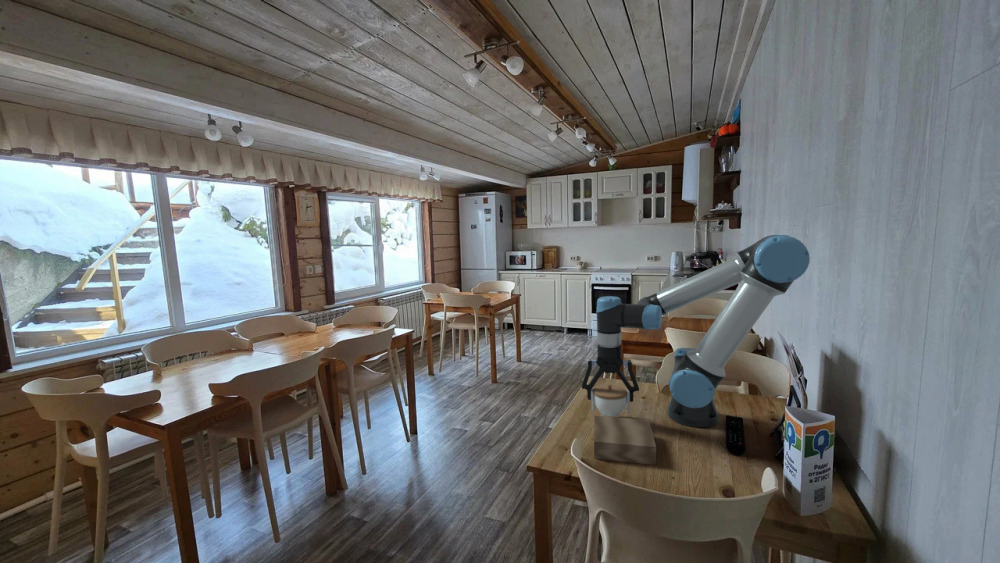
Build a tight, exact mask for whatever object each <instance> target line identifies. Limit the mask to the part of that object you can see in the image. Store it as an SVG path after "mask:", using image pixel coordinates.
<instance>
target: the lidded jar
mask: <svg viewBox="0 0 1000 563" xmlns="http://www.w3.org/2000/svg"><path fill="white" fill-rule="evenodd" d="M592 389H593V397H594V406H595V407H596V409H597V410H598V411H599V412H600V414H601V415H602V416H604V417H618V416H620V414H621V413H622V412H624V410H625V408H626V407H627V390H628V389H627V388H624V387H623V386H621V385H620V386H619V385H618V384H617V385H616V384H600V385H597V386H594V387H593V388H592Z"/></svg>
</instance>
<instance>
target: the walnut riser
mask: <svg viewBox="0 0 1000 563" xmlns="http://www.w3.org/2000/svg"><path fill="white" fill-rule="evenodd" d="M593 420H594V425H593V426H594V430H593V431H594V433H593V434H594V435H593V459H595V460H605V461H616V462H625V463H633V464H634V463H635V464H643V465H645V464H646V465H655V466H656V465H657V445H656V442H655V437H654V434H653V431H652V427H651V422H650V420H649V419H643V418H629V417H628V418H627V417H626V418H625V417H618V416H615V417H608V416H605V415H602V416H601V415H599V416H598V415H594V419H593Z"/></svg>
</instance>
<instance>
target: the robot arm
mask: <svg viewBox="0 0 1000 563" xmlns="http://www.w3.org/2000/svg"><path fill="white" fill-rule="evenodd" d="M810 259H811V257H810V252H809V250H808V248H807V247H806V245H805V244H804V243H803V242H802V241H801V240H800V239H797V238H796V237H794V236H790V235H787V234H773V235H767V236H765V237H762V238H761V239H759V240H758V241H756V242H755V243H753V244H752V245H749V246H747V247H746V248H744V249H742V250H740V251H737V252H736V253H735V255H734V257H733V258H730V259H728V260H726V261H724V262H721V263H718V264H717V265H715V266H713V267H711V268H709V269H706V270H704V271H701V272H700V273H697V274H695V275H693V276H690V277H688V278H686V279H684V280H681V281H680V282H677V283H675V284H673V285H671V286H669V287H666V288H663V289H662V290H659V291H657V292H656V293H654V294H651V295H648V296H645V297H642V298H640V299H639V300H638V301H637V303H635V304H634V303H633V304H632V303H622V299H621V298H620V296H619V297H618V296H611V295H608V296H607V295H606V296H600V297H599V298H597V301H596V311H595V313H596V327H597V328H596V329H597V330H596V339H597V340H596V342H597V350H596V351H597V358H596V359H592V358H588V360H587V368H586V370H585V374H584V377H583V380H582V382H581V389H582V390H586V392H587V397H586V398H587V400H589V401H590V407H591V408H590V411H592V412H594V411H595V410H594V408H595V402H594V393H593V389H594V387H595V385H596V383H597V382H598V380H599V379H600V378H601V376H602V374H603V373H604V374H616V375H617V376H619V378H620V380H621V381H622V383H623V385H624V386H625V387H626V390H627V401H626V412H627V413H631V407H630V406H631V403H633V402H634V392H639V391H640V387H639V385H638V384H639V383H638V381H637V379H636V378H637V377H636V375H635V374H634V370H633V363H632V360H631V359H627V360H623V359H622V358H623V357H622V345H621V344H622V328H623V329H626V328H627V329H637V330H638V329H641V330H647V331H650V330H659V329H661V328H662V322H663V321H662V320H663V316H664V315H666V314H669V313H671V312H673V311H675V310H679V309H681V308H682V307H685V306H688V305H689V304H693V303H695V302H697V301H700V300H702V299H704V298H707V297H709V296H711V295H714V294H716V293H719V292H721V291H724V290H726V289H728V288H731V287H734V286H736V285H738V286H737V287H736V289H735V290H734V292H733V293H732V294H731V296H730V297H729V300H728V301H727V302H726V303H725V305H724V306H723V308H722V309H721V311H720V312H719V314H718V315H717V317H716V318H715V320H714V321H713V322H712V324H711V326H710V327H709V329H708V330H707V332H706V333H705V335H704V336H703V337H702V339H701V341H700V342H699V344H698V345H697V347H696V348H694V347H678V348H676V349H675V350H674V354H673V357H674V366H673V369H672V373H671V376H670V378H669V381H668V384H669V385H668V386H669V392H670V393H671V398H670V400H669V404H668V405H667V416H668V417H669V418H670V419H671V420H672V421H673V422H676V423H678V424H681V425H684V426H688V427H693V428H709V427H710V428H711V427H714V426H716V425H717V424H718V422H719V413H718V412H719V411H718V409H717V407H716V403H715V400H714V397H715V393H716V392H715V391H716V389H717V388H718V386H719V385H720V384H721V382H722V381H723V380H724V379H725V377H726V375H727V374H726V371H725V367H726V365H727V363H728V362H729V361H730V359H731V358H732V357H733V355H734V353H736V351H737V349H738V348H739V347H740V345H741V344H742V342H743V341H744V340H745V338H746V337H747V335H748V334H749V333H750V332H751V330H752V328H753V327H754V325H755V324H756V322H757V321H758V320H759V319H760V317H761V315H763V314H764V311H766V309H767V308H768V306H769V305H770V303H771V302H772V300H773V299H774V298H775V297H776V296H780V295H784V294H786V292H788V289H790V287H791V285H792V284H793V283H794V281H795V280H798V279H799V278H801V277H802V275H804V274H805V272H806V271H807V269H808V268H809V264H810ZM595 365H597V367H598V369H597V371H596V372H595V374H594V376H593V377H592V378H591V380H590V381H589V378H590V375H591V372H592V369H593V367H595ZM623 365H624V367H625V368H627V371H628V374H629V377H630V379H631V382H632V385H631V383H630V382H629V380H628V379H627V377H626V376H625V374H624V373H623V371H622V369H621V368H622V366H623ZM588 381H589V382H588Z"/></svg>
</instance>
